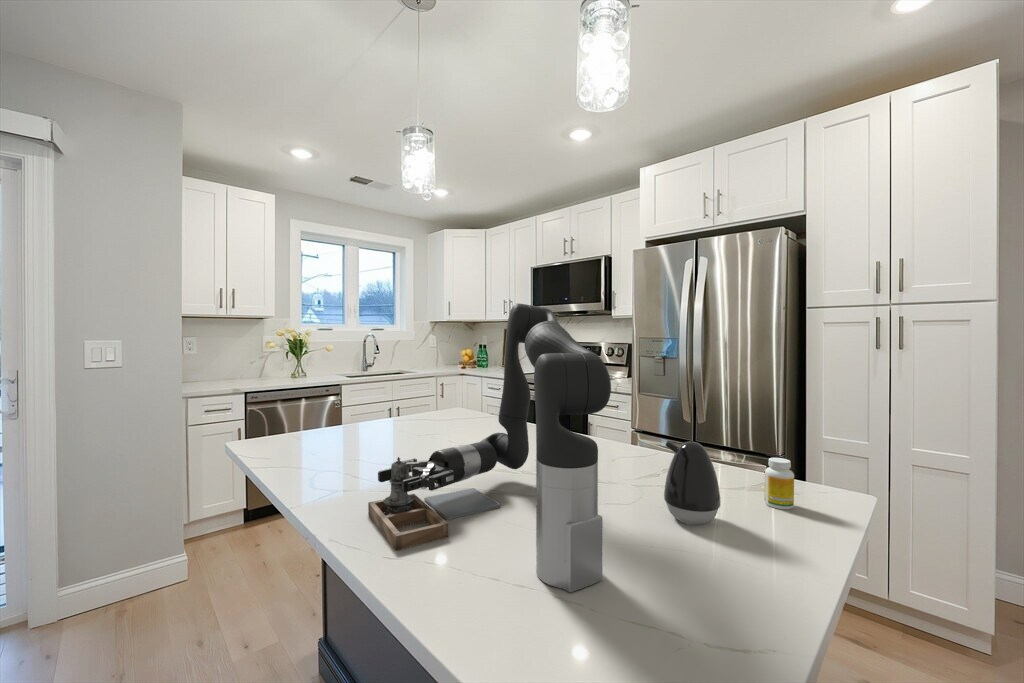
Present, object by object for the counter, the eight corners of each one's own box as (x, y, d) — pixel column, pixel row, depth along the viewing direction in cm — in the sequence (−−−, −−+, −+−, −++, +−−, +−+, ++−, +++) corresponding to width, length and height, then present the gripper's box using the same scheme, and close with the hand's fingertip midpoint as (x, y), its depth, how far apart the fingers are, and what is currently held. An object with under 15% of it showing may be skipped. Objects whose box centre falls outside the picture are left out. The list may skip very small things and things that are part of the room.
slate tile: (499, 507, 95) (499, 504, 95) (446, 519, 89) (446, 516, 89) (473, 490, 105) (473, 487, 105) (424, 500, 99) (424, 497, 99)
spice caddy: (448, 537, 81) (448, 523, 81) (395, 550, 76) (395, 536, 76) (414, 504, 97) (413, 493, 97) (368, 514, 92) (368, 502, 92)
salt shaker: (406, 524, 87) (406, 461, 86) (378, 522, 88) (377, 460, 88) (419, 512, 92) (418, 453, 92) (392, 510, 94) (391, 452, 93)
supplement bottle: (759, 500, 99) (759, 456, 99) (783, 500, 99) (783, 456, 99) (774, 510, 93) (774, 463, 93) (799, 510, 94) (800, 463, 93)
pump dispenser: (677, 505, 96) (677, 433, 96) (728, 519, 89) (729, 441, 88) (653, 519, 89) (653, 441, 89) (707, 536, 82) (707, 451, 81)
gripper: (435, 442, 105) (371, 455, 93) (477, 453, 95) (411, 470, 84) (435, 474, 105) (371, 492, 94) (477, 488, 96) (411, 510, 84)
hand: (390, 481), depth 89 cm, fingers open, 8 cm apart
